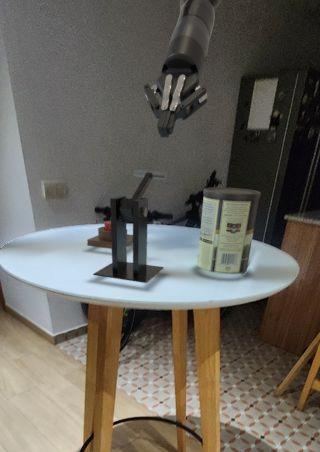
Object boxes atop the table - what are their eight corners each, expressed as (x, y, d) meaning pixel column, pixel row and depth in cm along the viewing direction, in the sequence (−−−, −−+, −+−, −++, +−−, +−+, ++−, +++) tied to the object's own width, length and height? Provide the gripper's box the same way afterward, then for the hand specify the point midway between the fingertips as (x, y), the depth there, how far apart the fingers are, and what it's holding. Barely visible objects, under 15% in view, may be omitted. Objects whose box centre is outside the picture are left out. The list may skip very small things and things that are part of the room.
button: (102, 231, 82) (101, 222, 81) (108, 228, 85) (108, 220, 84) (116, 233, 81) (116, 224, 80) (123, 230, 84) (122, 221, 83)
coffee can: (225, 261, 80) (236, 186, 71) (257, 275, 72) (273, 193, 64) (185, 266, 75) (192, 186, 67) (215, 281, 68) (227, 194, 60)
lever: (136, 178, 68) (134, 164, 66) (167, 180, 67) (166, 166, 65) (111, 220, 63) (108, 206, 61) (144, 224, 61) (142, 210, 59)
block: (87, 250, 82) (86, 230, 80) (106, 241, 90) (106, 223, 88) (120, 254, 81) (120, 234, 78) (136, 245, 88) (136, 227, 86)
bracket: (116, 266, 73) (114, 192, 65) (163, 273, 71) (167, 197, 63) (93, 280, 65) (88, 198, 58) (145, 288, 63) (147, 204, 55)
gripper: (150, 33, 68) (125, 112, 66) (219, 33, 65) (195, 115, 63) (157, 76, 76) (135, 148, 73) (220, 77, 73) (199, 153, 70)
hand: (163, 133), depth 68 cm, fingers closed
